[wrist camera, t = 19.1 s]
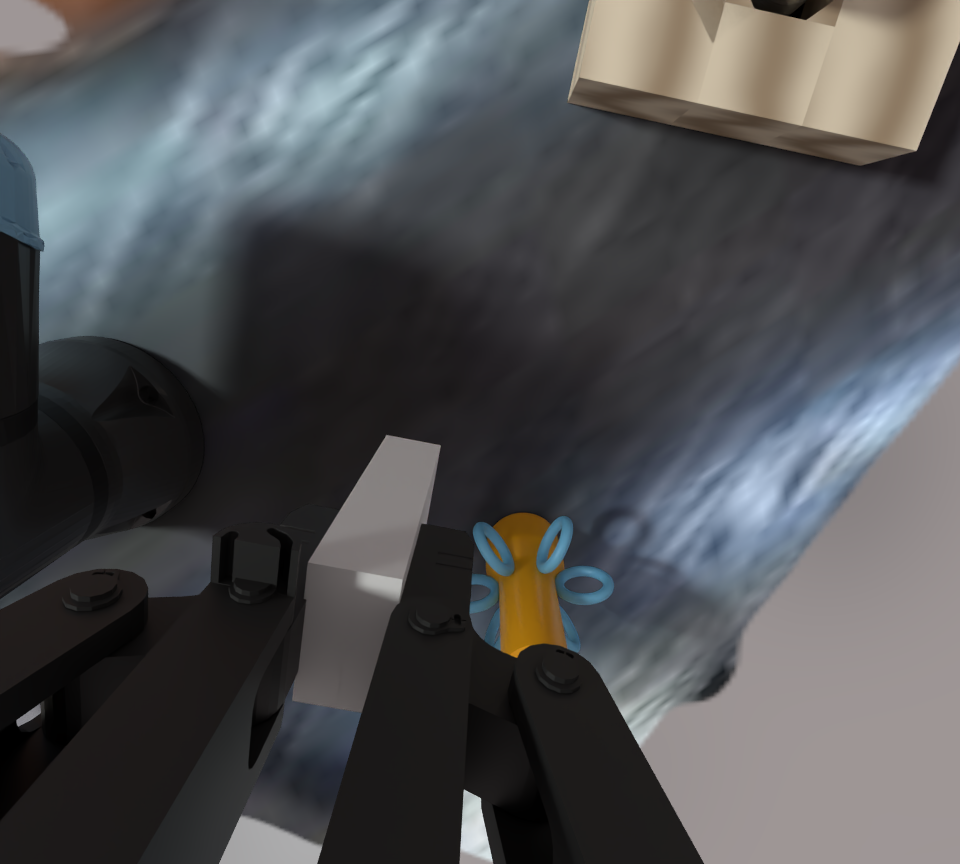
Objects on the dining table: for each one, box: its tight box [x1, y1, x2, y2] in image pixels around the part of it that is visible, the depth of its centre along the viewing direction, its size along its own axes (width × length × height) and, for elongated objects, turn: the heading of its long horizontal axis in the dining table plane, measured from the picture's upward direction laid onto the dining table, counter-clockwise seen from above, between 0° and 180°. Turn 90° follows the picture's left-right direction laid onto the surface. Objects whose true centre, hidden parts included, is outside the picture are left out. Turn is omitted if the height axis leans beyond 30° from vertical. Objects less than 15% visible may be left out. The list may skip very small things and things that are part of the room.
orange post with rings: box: [469, 513, 614, 658], centre depth 38 cm, size 12×10×15 cm
